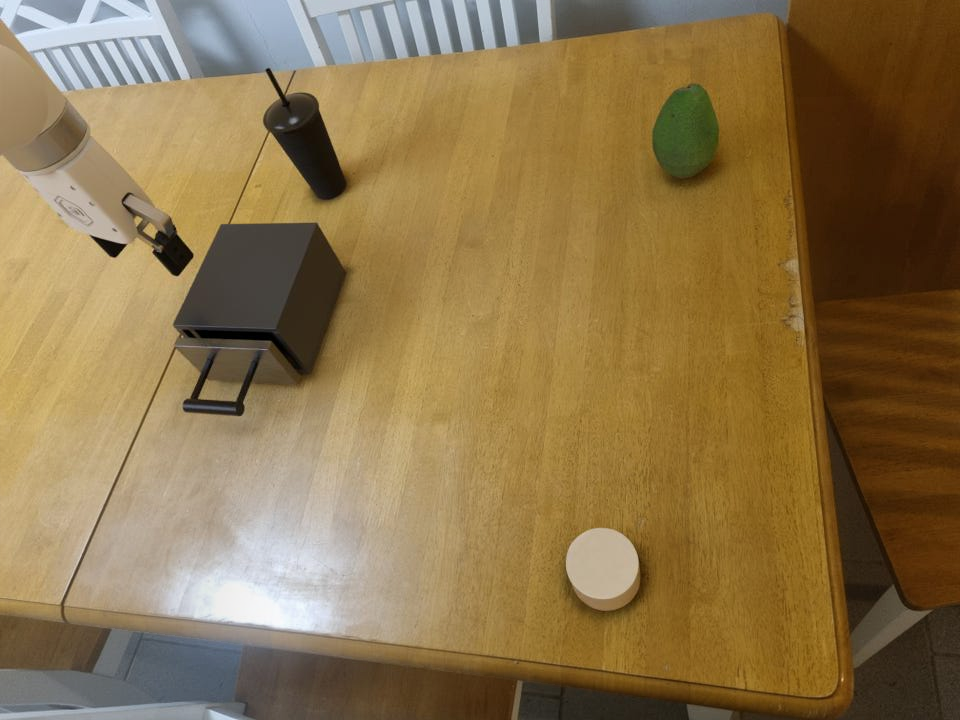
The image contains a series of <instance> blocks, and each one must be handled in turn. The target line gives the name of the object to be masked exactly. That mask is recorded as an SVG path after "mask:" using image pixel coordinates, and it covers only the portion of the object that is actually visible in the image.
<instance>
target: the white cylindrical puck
mask: <svg viewBox="0 0 960 720" xmlns="http://www.w3.org/2000/svg"><path fill="white" fill-rule="evenodd" d="M565 570H566V573H567V577H568V580H569V581H570V584H571V587H572V590H573V591H574V593H575V594H576V596H577V597H578V598H579V599H580V601H581V602H583V604H585V605H586V606H588V607H590V608H592V609H595V610H598V611H602V612H603V611H605V612H607V611H615V610H616V611H617V610H618V609H622V608H623V607H625V606H627V605H629V603H630V602H632V600H633V599H634V598H635V596H636V595H637V593H638V591H639V589H640V585H641V578H642V577H641V567H640V560H639V555H638V552H637V550H636V547H635V546H634V544H633V542H632V541H631V540H630V539H629V538H628V537H627V536H625V535H624V534H623V533H621V532H620V531H618V530H615V529H612V528H607V527H594V528H591V529H587V530H586V531H585V530H584V532H582V533H580V534H579V535H577V536H576V538H574V540H572V542H571V543H570V545H569V547H568V550H567V552H566V556H565Z"/></svg>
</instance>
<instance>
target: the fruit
mask: <svg viewBox="0 0 960 720" xmlns="http://www.w3.org/2000/svg"><path fill="white" fill-rule="evenodd" d="M651 133H652V136H651V137H652V138H651V139H652V142H651V143H652V150H653V153H654V156H655V158H656V161H657V162H658V164H659V165H660V167H661V168H662V169H663V170H664V171H665V172H666V173H667V174H669V175H670V176H673V177H675V178H678V179H688V178H692V177H693V178H694V177H695V176H696V175H699V174H700V173H701V172H702V171H703V170H705V168H706V167H708V166H709V164H711V162H712V161H713V160H714V157H715V155H716V152H717V150H718V146H719V144H720V143H719V142H720V125H719V121H718V118H717V114H716V112H715V108H714V106H713V104H712V100H711V97H710V95H709V93H708V91H707V90H706V89H705V88H704V86H702V85H701V84H700V83H693V82H690V83H689V84H686V85H683V86H681V87H679V88H677V89H675V90H673V92H672V93H671V94H669V96H668V98H667V99H666V100H665V102H664V103H663V105H662V107H661V108H660V111H659V113H658V115H657V117H656V120H655V122H654V124H653V127H652V131H651Z"/></svg>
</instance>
